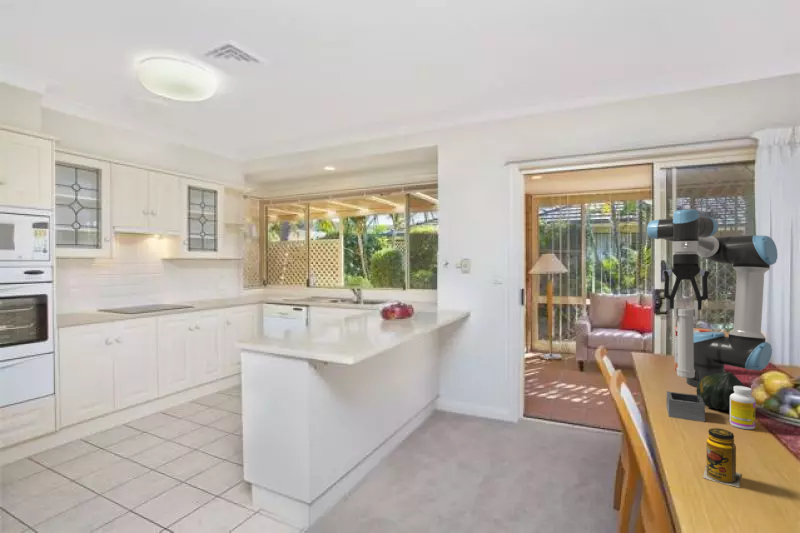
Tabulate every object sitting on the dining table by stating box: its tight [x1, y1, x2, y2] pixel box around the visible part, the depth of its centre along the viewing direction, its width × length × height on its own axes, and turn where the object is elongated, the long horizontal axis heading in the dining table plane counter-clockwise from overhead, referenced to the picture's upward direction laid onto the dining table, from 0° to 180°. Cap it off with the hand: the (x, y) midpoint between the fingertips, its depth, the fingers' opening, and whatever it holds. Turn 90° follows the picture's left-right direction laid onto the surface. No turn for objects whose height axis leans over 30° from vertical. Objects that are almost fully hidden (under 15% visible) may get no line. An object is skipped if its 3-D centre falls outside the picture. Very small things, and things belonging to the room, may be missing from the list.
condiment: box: [702, 427, 741, 488], centre depth 109 cm, size 7×8×12 cm
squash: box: [696, 371, 746, 413], centre depth 156 cm, size 14×15×15 cm
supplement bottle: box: [729, 385, 756, 431], centre depth 140 cm, size 7×7×13 cm
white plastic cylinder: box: [675, 293, 695, 379], centre depth 150 cm, size 6×6×30 cm
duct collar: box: [666, 391, 706, 422], centre depth 151 cm, size 10×10×6 cm
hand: (685, 318), depth 150 cm, fingers closed on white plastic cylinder, 5 cm apart
